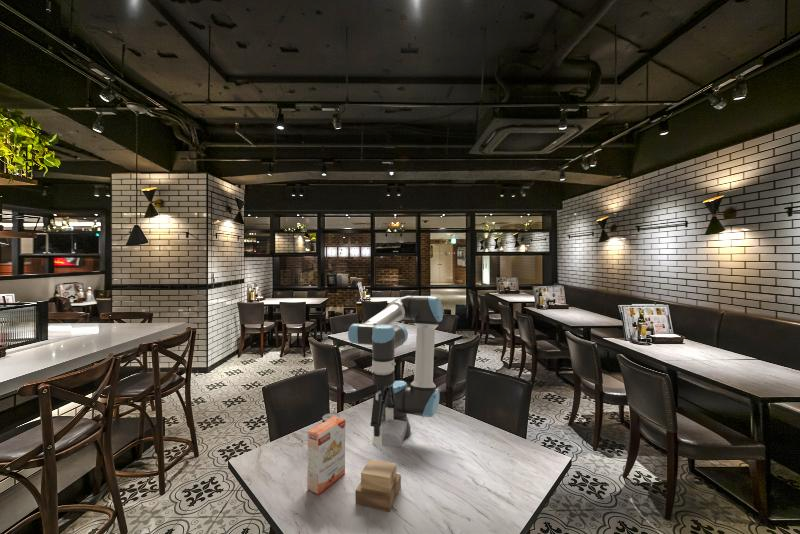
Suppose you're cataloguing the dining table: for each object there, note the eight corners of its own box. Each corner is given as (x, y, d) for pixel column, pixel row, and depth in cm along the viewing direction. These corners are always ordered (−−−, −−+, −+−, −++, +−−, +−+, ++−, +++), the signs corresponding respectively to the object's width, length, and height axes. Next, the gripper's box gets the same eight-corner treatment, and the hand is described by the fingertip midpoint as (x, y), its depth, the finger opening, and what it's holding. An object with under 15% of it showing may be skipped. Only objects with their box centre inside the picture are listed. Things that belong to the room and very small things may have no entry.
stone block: (374, 451, 105) (404, 447, 103) (371, 436, 105) (401, 432, 104) (382, 433, 117) (409, 429, 115) (379, 419, 117) (406, 416, 115)
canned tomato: (343, 437, 150) (342, 413, 150) (336, 446, 142) (336, 421, 142) (326, 435, 151) (326, 412, 151) (319, 445, 143) (319, 420, 143)
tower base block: (369, 482, 119) (369, 468, 119) (400, 488, 116) (400, 474, 116) (355, 505, 108) (355, 490, 108) (389, 513, 104) (389, 497, 104)
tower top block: (369, 473, 117) (369, 459, 116) (396, 477, 114) (396, 463, 114) (361, 487, 109) (360, 473, 109) (389, 493, 106) (389, 478, 106)
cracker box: (319, 496, 112) (318, 435, 111) (306, 489, 115) (306, 430, 115) (346, 473, 123) (346, 418, 123) (334, 468, 127) (334, 414, 126)
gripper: (382, 385, 98) (383, 456, 98) (403, 361, 121) (403, 420, 121) (359, 382, 100) (360, 453, 100) (384, 360, 123) (384, 417, 123)
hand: (384, 435), depth 111 cm, fingers closed on stone block, 12 cm apart
